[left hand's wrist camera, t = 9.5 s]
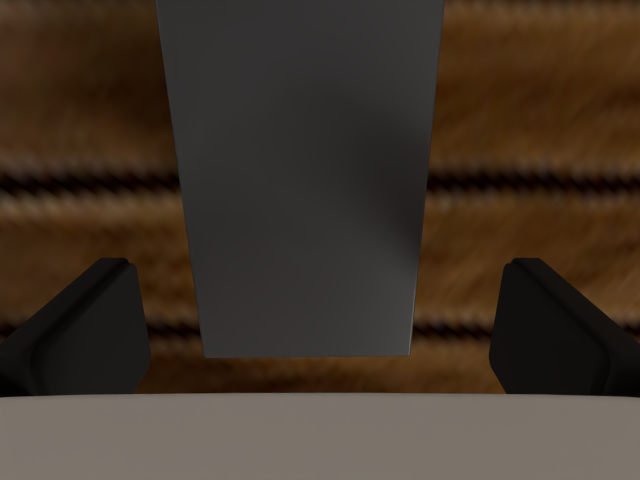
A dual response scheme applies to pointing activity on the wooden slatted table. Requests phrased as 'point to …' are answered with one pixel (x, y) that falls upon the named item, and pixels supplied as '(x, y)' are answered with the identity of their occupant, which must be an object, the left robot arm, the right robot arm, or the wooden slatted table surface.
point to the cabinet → (303, 168)
